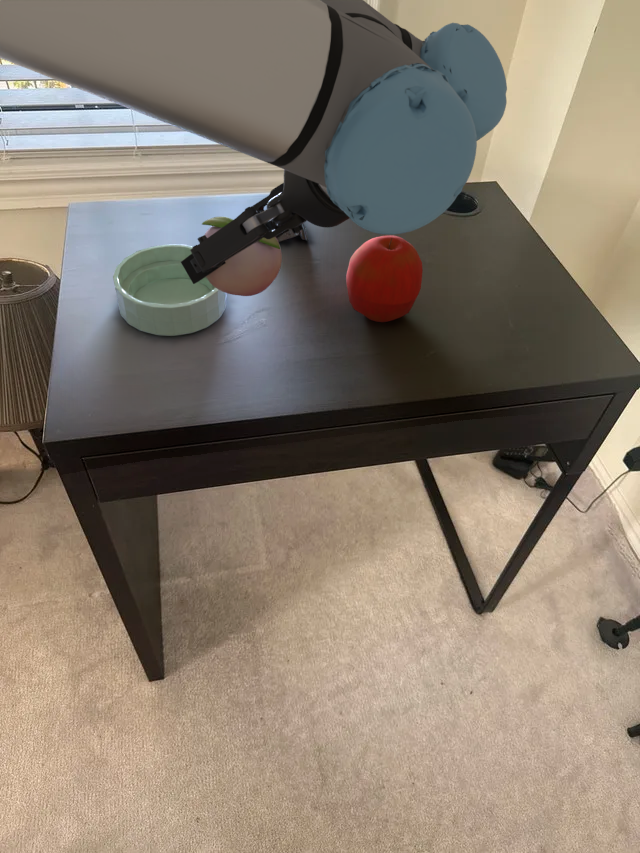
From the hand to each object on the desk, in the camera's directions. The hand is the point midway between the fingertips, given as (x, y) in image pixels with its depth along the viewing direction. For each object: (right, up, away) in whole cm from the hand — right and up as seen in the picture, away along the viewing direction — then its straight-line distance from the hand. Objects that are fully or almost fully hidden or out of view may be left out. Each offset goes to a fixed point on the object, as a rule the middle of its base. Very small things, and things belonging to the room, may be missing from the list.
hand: (221, 255), depth 73 cm
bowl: (-9, -3, +14) cm, 16 cm away
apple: (+19, -4, +16) cm, 25 cm away
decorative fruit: (+2, -4, +2) cm, 5 cm away
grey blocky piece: (+4, +12, +29) cm, 31 cm away
